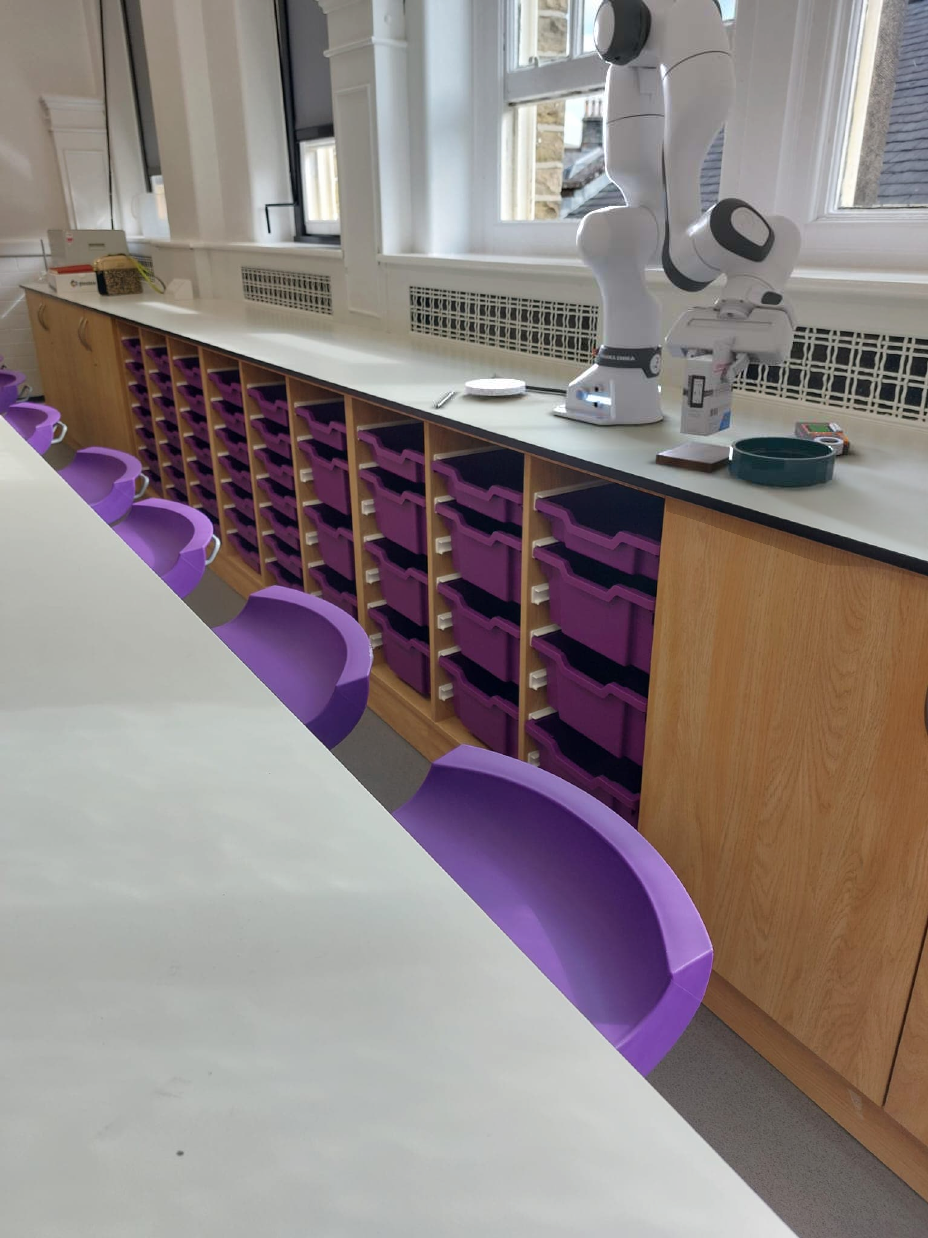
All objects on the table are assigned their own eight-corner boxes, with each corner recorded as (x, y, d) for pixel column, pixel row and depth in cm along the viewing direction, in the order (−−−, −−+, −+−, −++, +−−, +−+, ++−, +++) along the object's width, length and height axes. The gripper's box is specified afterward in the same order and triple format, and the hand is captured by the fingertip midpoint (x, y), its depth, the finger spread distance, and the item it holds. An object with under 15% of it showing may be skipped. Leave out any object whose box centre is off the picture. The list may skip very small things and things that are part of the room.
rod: (435, 408, 191) (435, 405, 191) (451, 393, 208) (451, 390, 208) (438, 408, 191) (438, 405, 191) (454, 393, 208) (454, 390, 208)
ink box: (702, 424, 147) (710, 333, 141) (730, 428, 144) (739, 334, 138) (678, 433, 141) (685, 338, 135) (706, 437, 138) (715, 340, 132)
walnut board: (655, 463, 144) (656, 454, 144) (692, 449, 152) (693, 441, 152) (710, 473, 138) (711, 463, 137) (745, 458, 146) (747, 449, 145)
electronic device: (812, 442, 145) (796, 419, 159) (809, 459, 147) (793, 435, 160) (855, 443, 144) (835, 420, 158) (852, 460, 146) (832, 436, 159)
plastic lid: (475, 401, 197) (475, 390, 196) (458, 391, 209) (458, 380, 208) (533, 397, 201) (534, 386, 199) (513, 387, 213) (513, 377, 212)
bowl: (710, 477, 135) (713, 449, 133) (755, 459, 145) (758, 432, 144) (806, 495, 126) (810, 464, 124) (847, 474, 136) (852, 445, 134)
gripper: (680, 293, 146) (644, 360, 143) (799, 297, 133) (762, 371, 130) (691, 319, 151) (657, 385, 148) (807, 325, 138) (772, 397, 135)
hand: (707, 378), depth 139 cm, fingers closed on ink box, 5 cm apart
